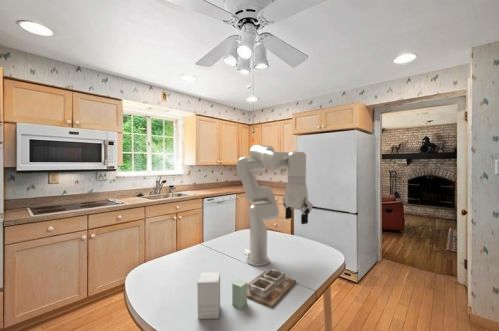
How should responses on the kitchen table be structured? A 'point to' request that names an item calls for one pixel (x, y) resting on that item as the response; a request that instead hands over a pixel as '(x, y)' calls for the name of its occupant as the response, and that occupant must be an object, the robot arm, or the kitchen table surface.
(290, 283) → the socket board
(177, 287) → the kitchen table surface
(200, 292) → the supplement box
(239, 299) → the plug
